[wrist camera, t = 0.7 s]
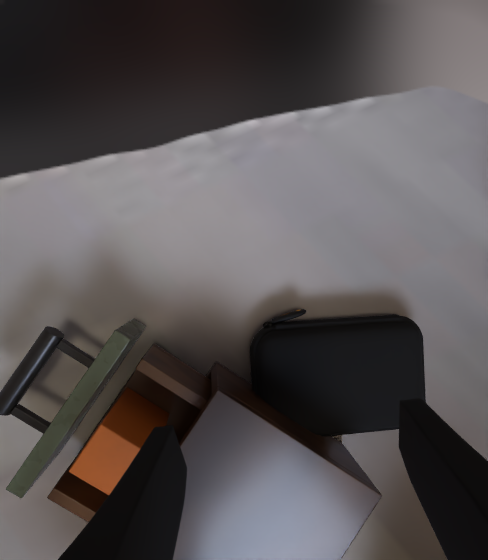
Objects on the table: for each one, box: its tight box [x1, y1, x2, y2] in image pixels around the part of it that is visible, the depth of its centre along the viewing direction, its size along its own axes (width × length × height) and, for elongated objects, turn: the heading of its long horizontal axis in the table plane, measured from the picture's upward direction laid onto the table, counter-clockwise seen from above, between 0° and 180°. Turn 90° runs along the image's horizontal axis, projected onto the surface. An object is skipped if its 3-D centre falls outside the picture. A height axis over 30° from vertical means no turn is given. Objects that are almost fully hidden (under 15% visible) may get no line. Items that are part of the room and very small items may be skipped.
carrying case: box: [250, 309, 426, 437], centre depth 31 cm, size 11×3×15 cm
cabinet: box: [173, 361, 382, 560], centre depth 28 cm, size 14×14×8 cm
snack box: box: [69, 388, 169, 495], centre depth 25 cm, size 3×4×7 cm
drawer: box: [0, 319, 212, 522], centre depth 27 cm, size 17×12×6 cm
